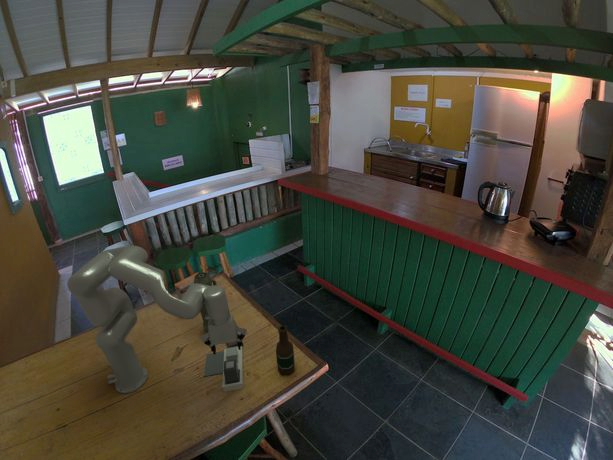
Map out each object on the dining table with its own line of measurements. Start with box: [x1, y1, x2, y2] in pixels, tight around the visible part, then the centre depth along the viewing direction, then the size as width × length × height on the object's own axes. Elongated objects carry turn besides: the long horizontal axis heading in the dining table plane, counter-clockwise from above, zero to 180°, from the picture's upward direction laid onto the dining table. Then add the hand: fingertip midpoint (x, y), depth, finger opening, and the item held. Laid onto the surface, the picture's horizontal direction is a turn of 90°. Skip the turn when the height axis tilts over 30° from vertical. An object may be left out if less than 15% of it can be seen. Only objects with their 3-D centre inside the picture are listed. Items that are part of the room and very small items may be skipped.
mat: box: [203, 350, 224, 378], centre depth 141 cm, size 8×12×1 cm, turn 11°
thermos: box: [194, 271, 217, 340], centre depth 150 cm, size 9×12×35 cm
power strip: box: [221, 346, 244, 393], centre depth 136 cm, size 8×20×8 cm, turn 11°
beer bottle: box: [275, 325, 296, 376], centre depth 132 cm, size 8×8×24 cm
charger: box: [224, 359, 239, 384], centre depth 130 cm, size 5×5×8 cm
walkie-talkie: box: [225, 322, 244, 348], centre depth 155 cm, size 9×4×20 cm
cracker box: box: [174, 272, 199, 300], centre depth 169 cm, size 14×6×21 cm, turn 139°
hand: (227, 349), depth 124 cm, fingers open, 9 cm apart
